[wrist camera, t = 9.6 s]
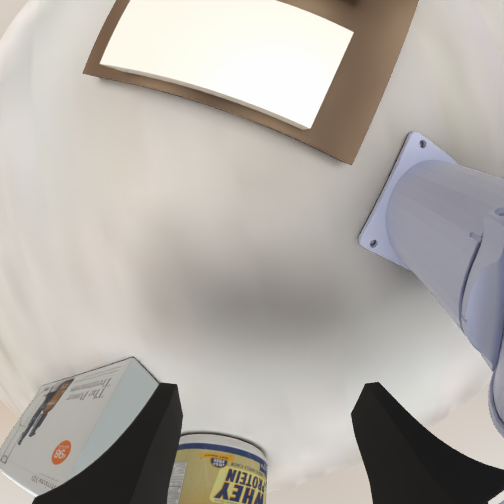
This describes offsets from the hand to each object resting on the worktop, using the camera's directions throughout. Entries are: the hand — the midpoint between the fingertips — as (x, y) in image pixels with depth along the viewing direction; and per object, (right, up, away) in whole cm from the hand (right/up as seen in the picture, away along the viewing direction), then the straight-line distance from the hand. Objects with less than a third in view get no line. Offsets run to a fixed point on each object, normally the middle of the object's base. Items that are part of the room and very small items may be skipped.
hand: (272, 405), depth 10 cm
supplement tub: (-5, -19, +19) cm, 27 cm away
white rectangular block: (-2, +16, +1) cm, 16 cm away
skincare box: (-19, -9, +16) cm, 27 cm away
